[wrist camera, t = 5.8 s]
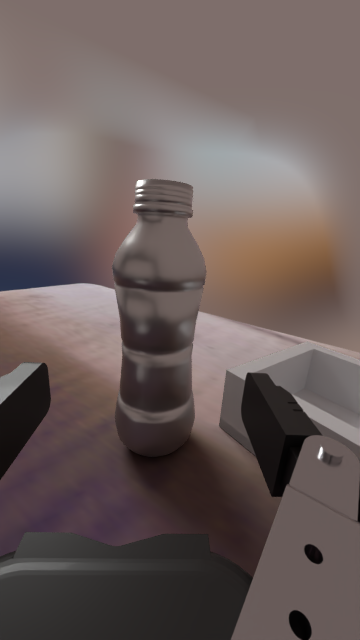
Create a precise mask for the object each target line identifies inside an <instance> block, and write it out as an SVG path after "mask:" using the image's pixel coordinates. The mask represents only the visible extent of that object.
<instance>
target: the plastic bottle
mask: <svg viewBox="0 0 360 640" xmlns="http://www.w3.org/2000/svg"><path fill="white" fill-rule="evenodd" d="M135 189H136V190H135V205H133V213H136V214H138V220H137V224H136V225H135V227H134V228H133V229H132V230H131V232H130V233H129V234H128V236H127V237H126V238H125V239H124V241H123V243H122V244H121V246H120V248H119V249H118V251H117V252H116V255H115V258H114V262H113V265H112V269H113V280H114V281H115V284H114V285H115V291H116V298H117V304H118V310H119V316H120V327H121V338H122V340H123V341H122V367H121V380H120V390H119V394H118V398H117V403H116V410H115V423H116V427H117V431H118V435H119V437H120V440H121V441H122V442H123V443H124V444H125V445H126V446H127V447H128V448H129V449H130V450H132V451H133V452H135V453H137V454H140V455H143V456H149V457H158V456H163V455H167V454H170V453H172V452H174V451H175V450H177V449H178V448H179V447H180V446H181V445H182V444H184V443H185V442H186V440H187V439H188V438H189V436H190V433H191V430H192V427H193V423H194V419H195V408H194V398H193V393H192V348H193V343H192V342H193V340H194V333H195V325H196V319H197V315H198V311H199V306H200V302H201V297H202V293H203V285H204V284H205V277H206V266H205V261H204V257H203V255H202V253H201V251H200V249H199V246H198V245H197V243H196V241H195V239H194V238H193V236H192V234H191V232H190V231H189V229H188V223H187V220H188V218H191V217H192V216H193V210H192V197H193V187H192V186H191V185H188V184H185V183H181V182H176V181H169V180H156V179H150V180H149V179H148V180H140V181H137V182H136V188H135Z"/></svg>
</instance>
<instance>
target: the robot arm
mask: <svg viewBox="0 0 360 640" xmlns="http://www.w3.org/2000/svg"><path fill="white" fill-rule="evenodd" d="M50 401H51V396H50V386H49V376H48V367H47V365H46V364H45V363H32V362H24V363H22V364H21V365H20V366H18V367H17V368H16V369H15V370H14V371H13V372H11V373H10V374H7V375H5V376H3V377H1V378H0V480H1V478H2V477H3V475H4V474H5V473H6V471H7V470H8V468H9V467H10V465H11V464H12V463H13V461H14V460H15V458H16V457H17V455H18V454H19V453H20V451H21V450H22V448H23V447H24V446H25V444H26V443H27V441H28V440H29V438H30V437H31V436H32V434H33V433H34V431H35V430H36V428H37V427H38V426H39V424H40V423H41V421H42V420H43V418H44V417H45V416H46V414H47V412H48V410H49V407H50ZM241 417H242V421H243V424H244V426H245V429H246V432H247V434H248V437H249V439H250V442H251V445H252V447H253V450H254V452H255V455H256V457H257V460H258V463H259V465H260V468H261V470H262V473H263V476H264V478H265V481H266V483H267V486H268V489H269V491H270V494H271V496H272V497H282V499H281V502H280V505H279V508H278V510H277V513H276V516H275V519H274V521H273V524H272V527H271V530H270V533H269V535H268V538H267V541H266V544H265V546H264V549H263V552H262V555H261V558H260V560H259V563H258V566H257V569H256V571H255V574H254V577H253V578H252V577H251V576H250V575H249V574H248V573H247V572H245V571H244V570H243V569H242V568H241V567H239V566H238V565H236V564H235V563H233V562H232V561H230V560H229V559H227V558H225V557H223V556H220V555H218V554H216V553H213V552H210V546H209V538H208V534H162V535H158V536H155V537H151V538H148V539H144V540H140V541H137V542H133V543H129V544H126V545H122V546H110V545H107V544H104V543H101V542H98V541H95V540H92V539H89V538H86V537H83V536H80V535H77V534H74V533H47V532H25V534H24V536H23V538H22V540H21V542H20V544H19V546H18V548H17V550H16V551H14V552H11V553H8V554H5V555H3V556H0V640H360V462H359V460H358V458H357V456H356V455H355V454H354V453H353V452H352V451H351V450H350V449H349V448H348V447H347V446H345V445H344V444H342V443H340V442H338V441H336V440H334V439H332V438H329V437H326V436H323V435H322V434H321V432H320V431H319V430H318V428H317V427H316V426H315V425H314V423H313V422H312V421H311V419H310V418H309V417H308V415H307V414H306V413H305V412H303V409H302V407H301V406H300V405H299V404H298V402H297V401H296V400H295V398H294V397H293V396H292V394H291V393H289V392H288V391H287V390H285V389H284V388H282V387H281V386H276V385H275V384H274V382H273V381H272V379H271V378H270V377H269V375H268V374H267V373H251V372H248V373H247V375H246V378H245V385H244V391H243V397H242V403H241Z"/></svg>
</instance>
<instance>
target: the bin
mask: <svg viewBox="0 0 360 640" xmlns="http://www.w3.org/2000/svg"><path fill="white" fill-rule="evenodd" d="M248 372H251V373H267V374H268V375H269V377H270V378H271V379H272V381H273V382H274V384H275V385H276V386H281V387H282V388H284V389H285V390H287V391H288V392H289V393H291V394H292V396H293V397H294V398H295V400H296V401H297V402H298V404H299V405H300V406H301V407H302V409H303V412H305V413H306V414H307V415H308V417H309V418H310V419H311V421H312V422H313V423H314V425H315V426H316V427H317V428H318V430H319V431H320V432H321V434H322V435H323V436H326V437H329V438H332V439H334V440H336V441H338V442H340V443H342V444H344V445H345V446H347V447H348V448H349V449H350V450H351V451H352V452H353V453H354V454H355V455H356V456H357V458H358V460H359V462H360V360H359V359H356V358H353V357H350V356H347V355H345V354H342V353H339V352H336V351H333V350H330V349H328V348H325V347H322V346H319V345H316V344H313V343H310V342H308V341H307V342H304V343H301V344H298V345H296V346H293V347H290V348H287V349H284V350H281V351H279V352H276V353H273V354H270V355H267V356H264V357H262V358H259V359H256V360H253V361H250V362H247V363H244V364H242V365H239V366H236V367H233V368H230V369H227V370H226V378H225V385H224V393H223V400H222V408H221V415H220V423H219V426H220V427H221V428H222V429H223V430H224V431H226V432H227V433H228V434H229V435H231V436H232V437H233V438H234V439H235V440H237V441H238V442H239V443H240V444H242V445H243V446H244V447H245V448H246V449H248V450H249V451H250V452H251V453H253V454H254V455H255V452H254V450H253V447H252V445H251V442H250V439H249V437H248V434H247V432H246V429H245V426H244V424H243V421H242V417H241V403H242V397H243V391H244V385H245V378H246V375H247V373H248ZM255 456H256V455H255Z"/></svg>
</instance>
